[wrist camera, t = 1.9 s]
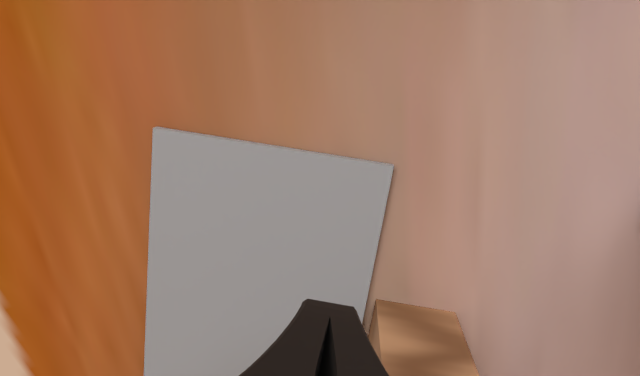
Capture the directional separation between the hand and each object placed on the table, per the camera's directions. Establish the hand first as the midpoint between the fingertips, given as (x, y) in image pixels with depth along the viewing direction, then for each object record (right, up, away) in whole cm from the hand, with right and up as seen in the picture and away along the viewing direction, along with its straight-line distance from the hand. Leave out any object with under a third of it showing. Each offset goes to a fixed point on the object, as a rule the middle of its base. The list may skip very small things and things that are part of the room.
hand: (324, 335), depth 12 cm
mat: (-4, -4, +12) cm, 13 cm away
